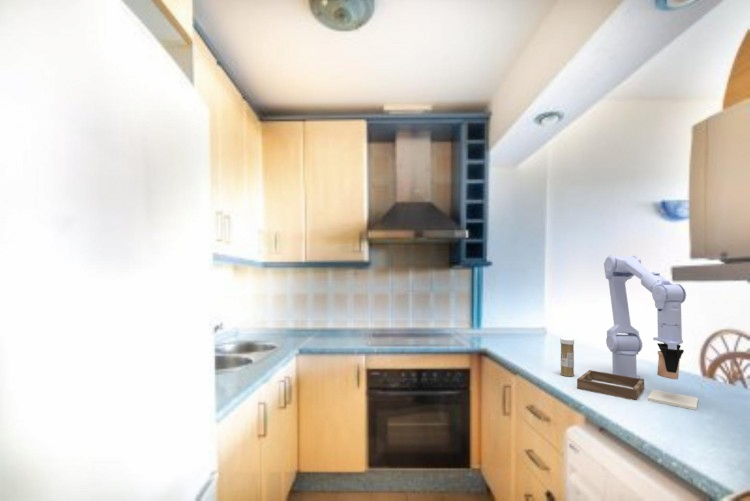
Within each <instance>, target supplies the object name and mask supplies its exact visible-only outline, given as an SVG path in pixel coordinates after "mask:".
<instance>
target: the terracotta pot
mask: <svg viewBox="0 0 750 501" xmlns="http://www.w3.org/2000/svg"><path fill="white" fill-rule="evenodd" d="M657 355H658V360H657V373H656V374H657V376H658V377H662V378H664V379H670V380H679V374H680V373H679V372H680V363H681V362H680V360H681V359H682V356H681V357H680V359H679V363H678V368H677V372H676V373H673V372H667V370H666V366H665V361H664V357H663V354H662V352H661V350H658V351H657Z"/></svg>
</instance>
